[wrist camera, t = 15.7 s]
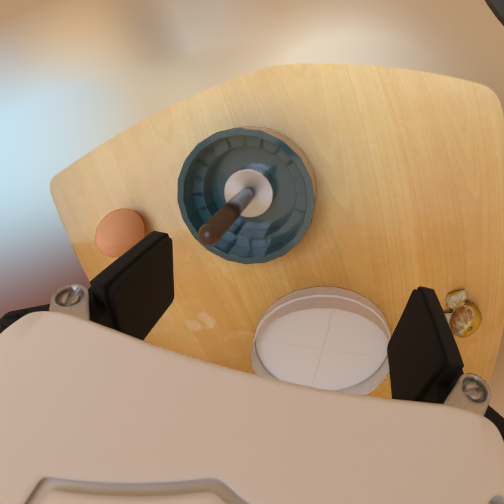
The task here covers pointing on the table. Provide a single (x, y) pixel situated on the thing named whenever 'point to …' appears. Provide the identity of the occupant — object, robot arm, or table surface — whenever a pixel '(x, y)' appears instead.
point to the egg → (119, 232)
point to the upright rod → (240, 202)
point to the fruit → (462, 314)
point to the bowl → (212, 200)
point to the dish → (323, 341)
